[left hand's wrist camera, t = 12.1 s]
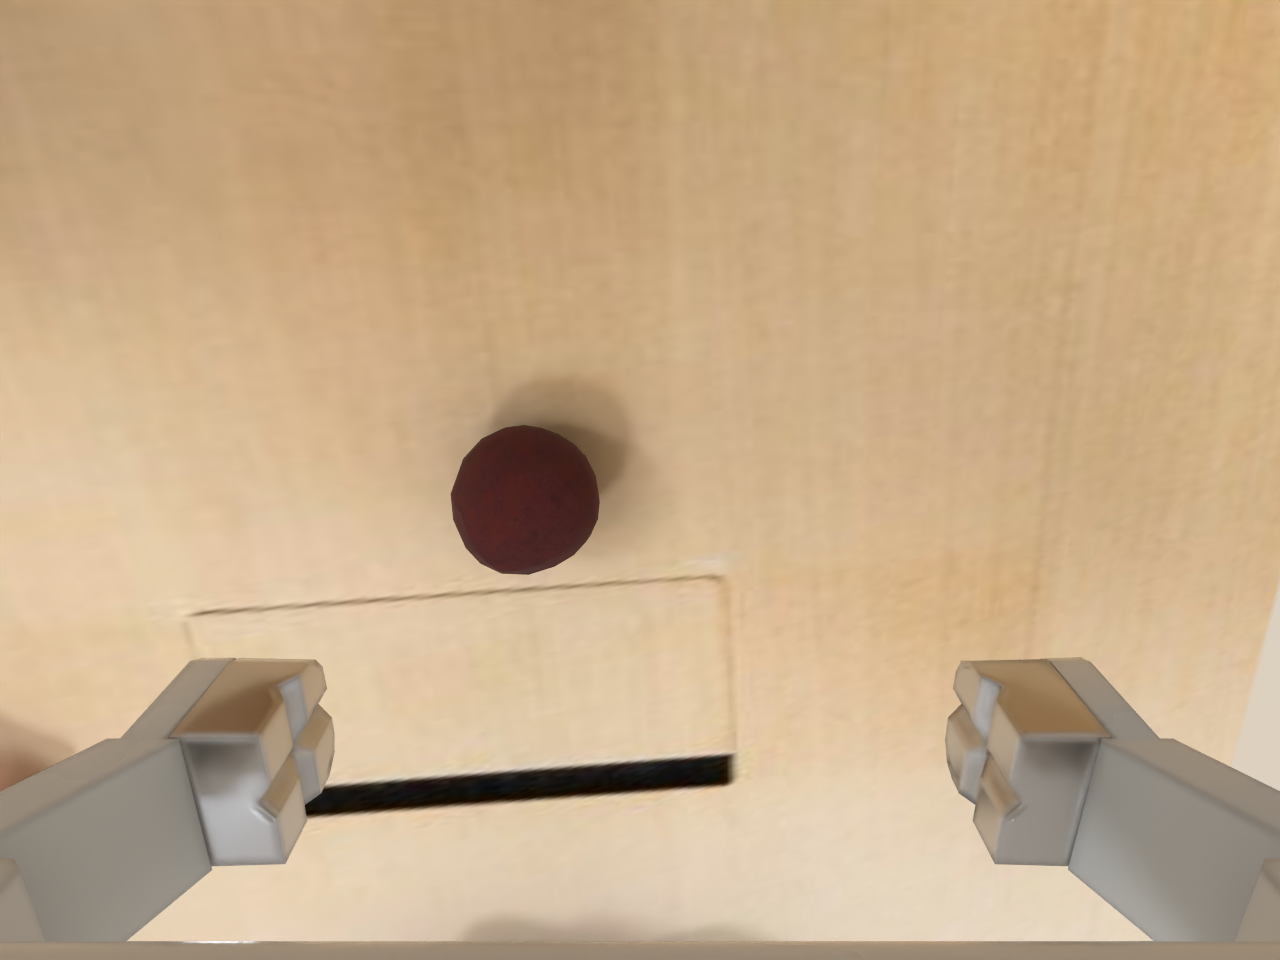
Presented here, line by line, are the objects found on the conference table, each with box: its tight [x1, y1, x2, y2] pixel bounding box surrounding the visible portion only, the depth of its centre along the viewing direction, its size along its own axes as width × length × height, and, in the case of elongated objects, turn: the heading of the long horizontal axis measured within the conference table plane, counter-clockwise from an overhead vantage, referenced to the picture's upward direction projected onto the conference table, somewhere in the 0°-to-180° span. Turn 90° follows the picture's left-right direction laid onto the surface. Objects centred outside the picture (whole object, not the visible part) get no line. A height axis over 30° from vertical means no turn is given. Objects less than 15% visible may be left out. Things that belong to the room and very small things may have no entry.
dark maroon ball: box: [451, 425, 599, 575], centre depth 42 cm, size 7×8×7 cm
